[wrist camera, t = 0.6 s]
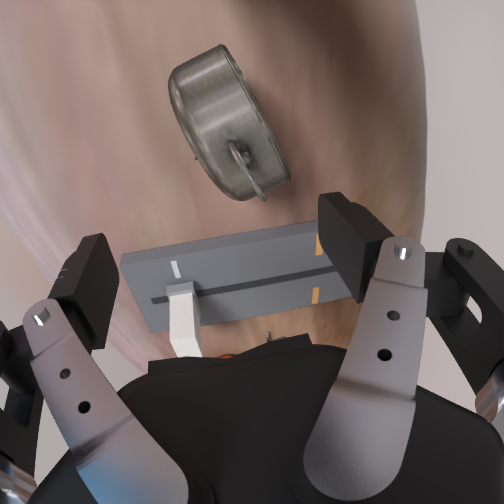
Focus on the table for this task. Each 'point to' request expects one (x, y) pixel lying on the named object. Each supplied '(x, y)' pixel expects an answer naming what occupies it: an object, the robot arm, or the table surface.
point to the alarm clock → (226, 126)
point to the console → (236, 275)
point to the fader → (185, 320)
